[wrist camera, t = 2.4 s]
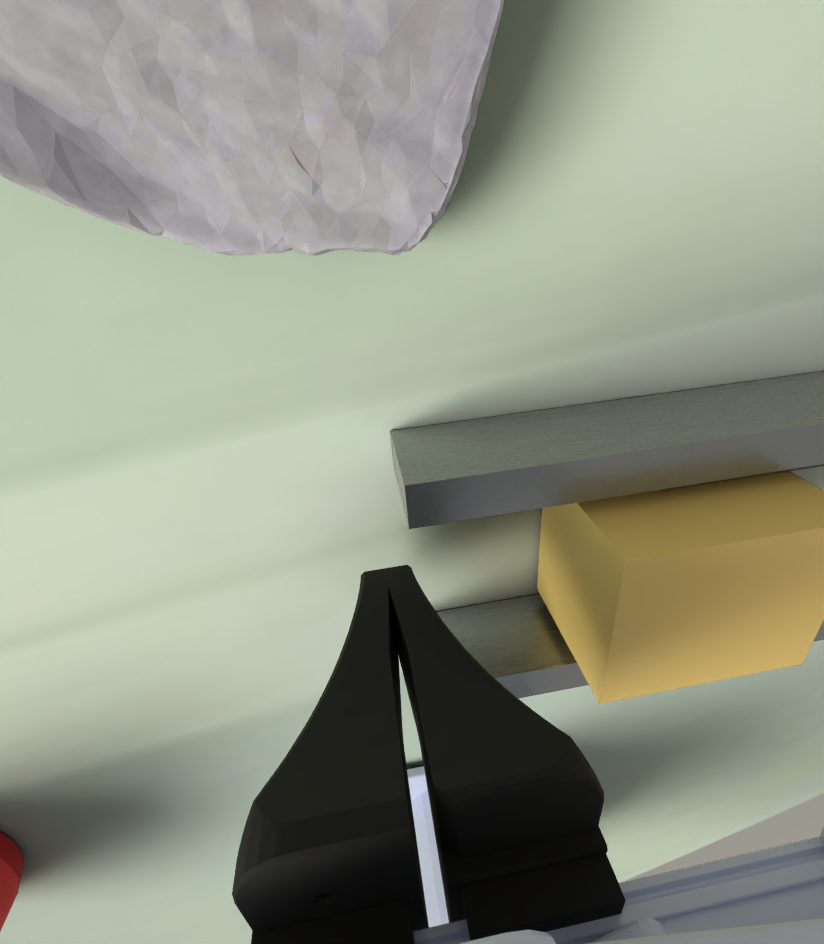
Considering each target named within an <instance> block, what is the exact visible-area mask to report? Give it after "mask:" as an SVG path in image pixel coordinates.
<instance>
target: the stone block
mask: <svg viewBox="0 0 824 944" xmlns="http://www.w3.org/2000/svg"><path fill="white" fill-rule="evenodd" d="M503 5H504V0H0V174H1V175H2V176H4V177H5V178H7V179H8V180H10V181H11V182H13V183H16V184H18V185H20V186H23V187H25V188H27V189H30V190H32V191H34V192H37V193H39V194H42V195H45V196H47V197H50V198H52V199H54V200H56V201H58V202H60V203H62V204H64V205H67V206H71V207H74V208H76V209H79V210H81V211H84V212H86V213H88V214H91V215H93V216H96V217H99V218H101V219H104V220H107V221H109V222H112V223H115V224H117V225H121V226H124V227H128V228H131V229H135V230H139V231H142V232H145V233H148V234H151V235H162V236H165V237H167V238H170V239H173V240H175V241H178V242H181V243H183V244H187V245H190V246H194V247H198V248H201V249H205V250H208V251H212V252H216V253H221V254H225V255H230V256H236V255H253V254H263V253H281V252H285V251H288V250H292V249H293V250H295V251H297V252H299V253H302V254H309V255H319V254H323V253H326V252H330V251H333V250H347V249H350V250H357V251H365V252H383V253H387V254H390V255H400V254H401V252H406V251H410V250H411V249H412V248H414V247H415V246H416V245H417V244H418V243H419V242H421V241H422V240H424V239H425V238H426V237H427V235H428V233H429V231H430V229H431V228H432V227H433V226H434V225H435V223H436V222H437V221H438V220H439V219H440V218H441V217H442V215H443V214H444V213H445V212H446V209H447V207H448V205H449V202H450V200H451V199H452V196H453V192H454V190H455V188H456V185H457V182H458V180H459V177H460V175H461V172H462V170H463V166H464V163H465V159H466V156H467V151H468V146H469V142H470V138H471V134H472V130H473V128H474V126H475V124H476V120H477V114H478V107H479V103H480V99H481V97H482V94H483V92H484V87H485V83H486V79H487V74H488V70H489V67H490V62H491V56H492V51H493V46H494V43H495V39H496V35H497V30H498V26H499V22H500V18H501V14H502V9H503Z"/></svg>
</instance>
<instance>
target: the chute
mask: <svg viewBox="0 0 824 944" xmlns="http://www.w3.org/2000/svg"><path fill="white" fill-rule="evenodd" d="M390 435H391V444H392V453H393V461H394V469H395V473H396V477H397V482H398V486H399V490H400V494H401V498H402V502H403V506H404V510H405V514H406V518H407V523H408V527H409V529H412V528H419V527H425V526H431V525H438V524H444V523H451V522H457V521H463V520H470V519H476V518H482V517H489V516H495V515H502V514H508V513H514V512H521V511H527V510H534V509H540V508H546V507H553V506H559V505H565V504H572V503H578V502H585V501H591V500H597V499H604V498H610V497H617V496H623V495H629V494H636V493H642V492H649V491H655V490H661V491H666V490H672V489H678V488H685V487H691V486H697V485H704V484H710V483H716V482H723V481H729V480H736V479H742V478H748V477H755V476H761V475H767V474H774V473H780V472H787V471H793V470H799V469H806V468H812V467H818V466H824V371H822V372H815V373H808V374H800V375H793V376H786V377H778V378H771V379H764V380H757V381H749V382H742V383H735V384H728V385H720V386H713V387H706V388H698V389H691V390H684V391H677V392H669V393H662V394H655V395H648V396H640V397H633V398H626V399H618V400H611V401H604V402H597V403H589V404H582V405H575V406H568V407H560V408H553V409H546V410H538V411H531V412H524V413H517V414H509V415H502V416H495V417H488V418H480V419H473V420H466V421H458V422H451V423H444V424H437V425H429V426H422V427H415V428H407V429H400V430H393V431H390ZM437 614H438V615H439V616H440V618H441V619H442V621H443V622H444V623H445V625H446V626H447V627H448V628H449V630H450V631H451V632H452V633H453V635H454V636H455V637H456V638H457V640H458V641H459V642H460V643H461V644H462V645H463V647H464V648H465V649H466V650H467V651H468V652H469V653H470V654H471V655H472V656H473V657H474V658H475V660H476V661H477V662H478V663H479V664H480V665H481V666H482V667H483V668H484V669H485V670H486V671H487V672H488V673H490V674H491V675H492V676H493V677H494V678H495V679H496V680H497V681H498V682H499V683H501V684H502V685H503V686H504V687H505V688H506V689H507V690H509V691H510V692H511V693H512V694H513V695H514V696H515V697H517V698H523V697H528V696H533V695H538V694H543V693H549V692H554V691H559V690H564V689H569V688H575V687H580V686H585V685H589V684H588V682H587V680H586V678H585V676H584V675H583V673H582V671H581V669H580V667H579V665H578V663H577V662H576V660H575V658H574V656H573V654H572V652H571V651H570V649H569V647H568V645H567V643H566V641H565V639H564V638H563V636H562V634H561V632H560V630H559V628H558V627H557V625H556V623H555V621H554V619H553V617H552V615H551V614H550V612H549V610H548V608H547V606H546V604H545V603H544V601H543V599H542V597H541V595H540V594H536V595H531V596H525V597H519V598H513V599H508V600H502V601H496V602H490V603H484V604H479V605H473V606H467V607H461V608H456V609H450V610H444V611H438V612H437ZM818 640H824V620H823V622H822V624H821V626H820V628H819V630H818V632H817V634H816V637H815V639H814V641H818Z"/></svg>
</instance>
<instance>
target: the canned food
mask: <svg viewBox="0 0 824 944" xmlns="http://www.w3.org/2000/svg"><path fill="white" fill-rule="evenodd" d="M23 862H24V860H23V856H22V853H21V851H20V850H19V848H18V847H17V846H16V844H15V843H14V841H12V840H11V839H10V838H9V837H7V836H6V835H5V834H4V833H2V832H0V931H1V929H2V927H3V924H4V922H5V920H6V918H7V915H8V913H9V911H10V909H11V907H12V904H13V902H14V900H15V898H16V896H17V893H18V889H19V884H20V879H21V873H22V868H23Z"/></svg>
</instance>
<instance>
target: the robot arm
mask: <svg viewBox="0 0 824 944" xmlns="http://www.w3.org/2000/svg"><path fill="white" fill-rule="evenodd" d="M398 655H399V659H400V663H401V667H402V671H403V675H404V679H405V683H406V687H407V691H408V695H409V699H410V703H411V707H412V711H413V715H414V719H415V723H416V727H417V731H418V736H419V741H420V746H421V752H422V758H423V764H424V766H422V767H417V768H412V769H407V767H406V759H405V752H404V743H403V732H402V715H401V696H400V677H399V659H398ZM603 802H604V791H603V789H602V787H601V785H600V782H599V780H598V778H597V777H596V775H595V773H594V771H593V770H592V768H591V766H590V765H589V763H588V761H587V760H586V758H585V757H584V755H583V754H582V752H581V751H580V749H579V748H578V747H577V745H576V744H575V742H574V741H573V740H572V738H571V737H570V736H568V735H567V734H565V733H564V732H562V731H561V730H559V729H558V728H556V727H555V726H553V725H552V724H551V723H549V722H548V721H546V720H545V719H544V718H542V717H541V716H539V715H538V714H537V713H536V712H534V711H533V710H532V709H530V708H529V707H528V706H527V705H525V704H524V703H523V702H521V701H520V700H519V699H518V698H517V697H515V696H514V695H513V694H512V693H511V692H510V691H509V690H507V689H506V688H505V687H504V686H503V685H502V684H501V683H499V682H498V681H497V680H496V679H495V678H494V677H493V676H492V675H491V674H490V673H488V672H487V671H486V670H485V669H484V668H483V667H482V666H481V665H480V664H479V663H478V662H477V661H476V660H475V658H474V657H473V656H472V655H471V654H470V653H469V652H468V651H467V650H466V649H465V648H464V647H463V645H462V644H461V643H460V642H459V641H458V640H457V638H456V637H455V636H454V635H453V633H452V632H451V631H450V630H449V628H448V627H447V626H446V625H445V623H444V622H443V621H442V619H441V618H440V616H439V615H438V614H437V612H436V611H435V609H434V608H433V607H432V605H431V604H430V602H429V601H428V599H427V597H426V596H425V594H424V592H423V591H422V589H421V587H420V586H419V584H418V582H417V580H416V578H415V576H414V574H413V571H412V569H411V567H409V566H408V565H404V566H397V567H391V568H385V569H379V570H373V571H367V572H364V573H363V574H362V575H361V583H360V590H359V595H358V600H357V604H356V608H355V612H354V615H353V619H352V622H351V625H350V629H349V632H348V635H347V638H346V640H345V643H344V646H343V648H342V651H341V654H340V656H339V659H338V661H337V664H336V666H335V668H334V671H333V673H332V675H331V677H330V680H329V682H328V684H327V686H326V688H325V690H324V692H323V694H322V696H321V698H320V700H319V702H318V703H317V705H316V707H315V709H314V711H313V713H312V715H311V716H310V718H309V720H308V722H307V723H306V725H305V727H304V728H303V730H302V732H301V733H300V735H299V736H298V738H297V739H296V741H295V743H294V744H293V746H292V747H291V749H290V751H289V752H288V754H287V755H286V757H285V758H284V760H283V761H282V763H281V764H280V766H279V767H278V768H277V770H276V771H275V772H274V774H273V775H272V777H271V778H270V779H269V781H268V782H267V783H266V785H265V786H264V788H263V789H262V790H261V792H260V793H259V794H258V796H257V797H256V798H255V800H254V801H253V804H252V807H251V810H250V813H249V816H248V819H247V822H246V825H245V828H244V832H243V835H242V839H241V844H240V847H239V852H238V857H237V863H236V870H235V877H234V884H233V892H232V895H233V899H234V902H235V904H236V906H237V907H238V909H239V910H240V912H241V913H242V915H243V917H244V918H245V920H246V921H247V923H248V924H249V926H250V927H251V929H252V930H253V932H252V941H251V944H824V827H823V829H822V831H821V836H819V837H815V838H811V839H807V840H802V841H798V842H794V843H789V844H785V845H781V846H776V847H772V848H768V849H764V850H760V851H755V852H751V853H747V854H742V855H738V856H734V857H730V858H725V859H721V860H717V861H713V862H708V863H704V864H699V865H695V866H691V867H687V868H682V869H678V870H674V871H670V872H665V873H661V874H657V875H653V876H648V877H644V878H640V879H635V880H631V881H627V882H622V883H618V881H617V879H616V876H615V874H614V871H613V869H612V867H611V864H610V862H609V860H608V857H607V855H606V853H607V850H608V849H607V845H606V842H605V840H604V837H603V835H602V833H601V831H600V828H599V826H598V824H599V820H600V816H601V811H602V807H603Z"/></svg>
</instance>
